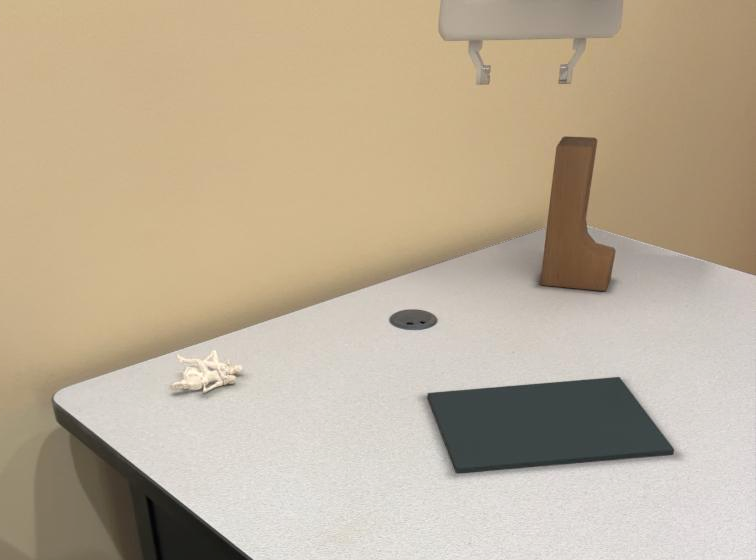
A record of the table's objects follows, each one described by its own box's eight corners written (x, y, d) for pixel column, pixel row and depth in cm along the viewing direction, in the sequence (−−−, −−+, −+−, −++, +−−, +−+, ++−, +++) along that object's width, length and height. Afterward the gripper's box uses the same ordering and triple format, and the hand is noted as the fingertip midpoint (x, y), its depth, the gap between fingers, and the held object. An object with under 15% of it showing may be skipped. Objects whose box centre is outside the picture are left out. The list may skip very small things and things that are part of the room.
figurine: (247, 372, 109) (228, 400, 103) (187, 367, 110) (165, 395, 104) (246, 349, 107) (227, 376, 101) (185, 344, 108) (162, 370, 102)
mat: (618, 381, 102) (619, 376, 101) (673, 454, 89) (674, 449, 89) (427, 397, 101) (427, 392, 101) (456, 473, 89) (456, 468, 89)
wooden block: (610, 280, 124) (635, 138, 112) (606, 292, 121) (630, 148, 109) (545, 274, 127) (562, 135, 115) (539, 285, 124) (556, 144, 112)
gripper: (637, -70, 96) (615, 76, 105) (446, -61, 100) (441, 78, 109) (638, -65, 91) (615, 88, 100) (438, -55, 96) (434, 90, 105)
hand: (523, 83), depth 105 cm, fingers open, 8 cm apart
